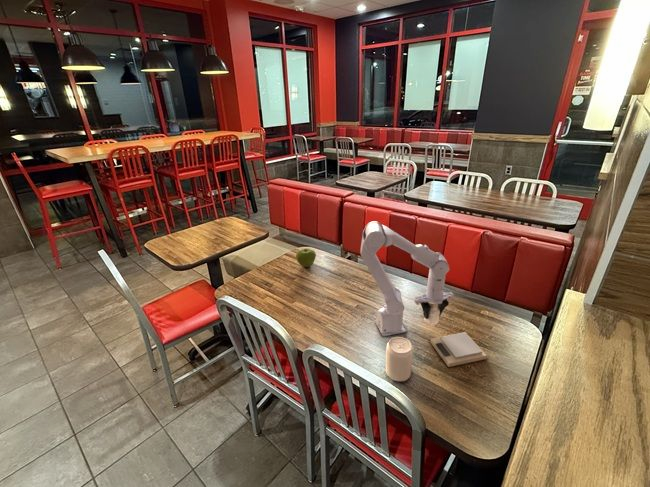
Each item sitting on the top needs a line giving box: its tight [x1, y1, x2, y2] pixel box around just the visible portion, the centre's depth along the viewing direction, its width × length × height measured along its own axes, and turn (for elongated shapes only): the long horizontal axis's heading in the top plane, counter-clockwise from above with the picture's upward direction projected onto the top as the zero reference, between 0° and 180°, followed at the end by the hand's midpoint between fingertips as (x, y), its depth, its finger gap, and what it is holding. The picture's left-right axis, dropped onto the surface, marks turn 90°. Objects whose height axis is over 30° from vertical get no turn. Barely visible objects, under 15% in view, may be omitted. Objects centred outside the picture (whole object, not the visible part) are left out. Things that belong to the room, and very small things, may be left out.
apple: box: [295, 247, 317, 268], centre depth 168 cm, size 11×10×10 cm
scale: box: [429, 331, 488, 368], centre depth 109 cm, size 14×12×3 cm
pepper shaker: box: [423, 302, 440, 327], centre depth 117 cm, size 4×4×10 cm
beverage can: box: [385, 336, 414, 382], centre depth 99 cm, size 8×8×12 cm
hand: (431, 316), depth 118 cm, fingers closed on pepper shaker, 4 cm apart
